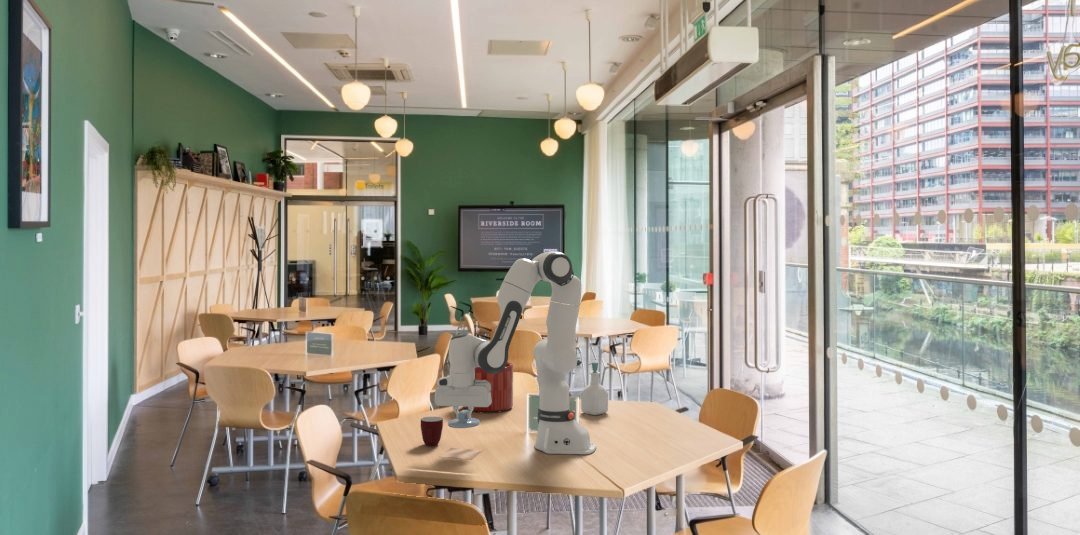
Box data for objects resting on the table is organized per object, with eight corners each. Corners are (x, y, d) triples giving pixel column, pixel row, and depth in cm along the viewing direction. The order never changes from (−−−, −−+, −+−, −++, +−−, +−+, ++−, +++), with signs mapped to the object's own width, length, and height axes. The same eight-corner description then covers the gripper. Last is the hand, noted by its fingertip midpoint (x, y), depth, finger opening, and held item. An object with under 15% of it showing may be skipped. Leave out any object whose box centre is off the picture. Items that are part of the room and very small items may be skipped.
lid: (483, 420, 256) (483, 408, 256) (473, 428, 246) (473, 415, 245) (454, 419, 259) (454, 407, 259) (443, 427, 248) (443, 414, 248)
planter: (492, 416, 314) (493, 369, 313) (452, 409, 326) (452, 364, 326) (522, 406, 333) (523, 363, 333) (483, 400, 346) (483, 359, 345)
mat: (482, 451, 257) (482, 450, 257) (471, 461, 245) (471, 459, 245) (451, 449, 259) (451, 447, 259) (438, 458, 248) (438, 456, 248)
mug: (442, 450, 258) (443, 422, 258) (420, 451, 257) (420, 423, 256) (442, 443, 268) (442, 416, 268) (420, 443, 267) (420, 416, 267)
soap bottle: (594, 410, 328) (594, 360, 327) (609, 413, 320) (610, 362, 320) (579, 413, 321) (579, 362, 321) (595, 416, 314) (595, 364, 314)
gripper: (493, 378, 252) (494, 417, 253) (438, 377, 257) (440, 415, 258) (487, 381, 246) (489, 421, 247) (432, 380, 251) (433, 420, 252)
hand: (463, 418), depth 252 cm, fingers closed on lid, 2 cm apart
